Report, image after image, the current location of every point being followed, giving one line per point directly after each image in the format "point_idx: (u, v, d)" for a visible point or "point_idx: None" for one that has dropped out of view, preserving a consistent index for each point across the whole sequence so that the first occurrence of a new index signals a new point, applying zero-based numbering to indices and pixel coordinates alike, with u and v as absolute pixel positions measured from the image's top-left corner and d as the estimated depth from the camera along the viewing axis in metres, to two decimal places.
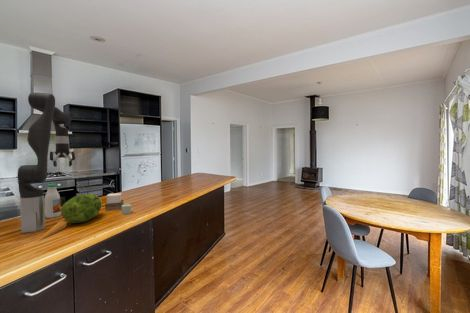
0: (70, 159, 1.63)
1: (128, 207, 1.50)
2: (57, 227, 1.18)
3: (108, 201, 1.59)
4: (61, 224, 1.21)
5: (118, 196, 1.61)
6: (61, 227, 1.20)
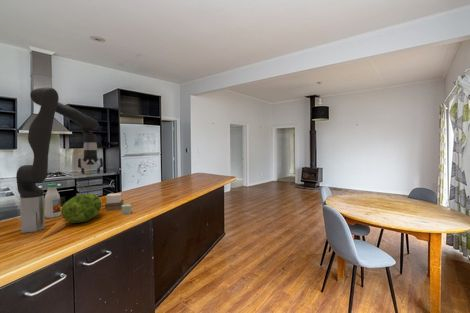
0: (98, 166, 1.58)
1: (128, 207, 1.50)
2: (56, 227, 1.18)
3: (108, 201, 1.59)
4: (60, 224, 1.21)
5: (118, 196, 1.61)
6: (60, 227, 1.20)
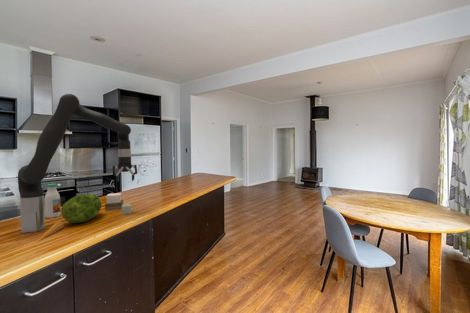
0: (133, 173, 1.52)
1: (128, 207, 1.50)
2: (55, 227, 1.18)
3: (108, 201, 1.60)
4: (59, 224, 1.21)
5: (118, 196, 1.61)
6: (59, 227, 1.20)
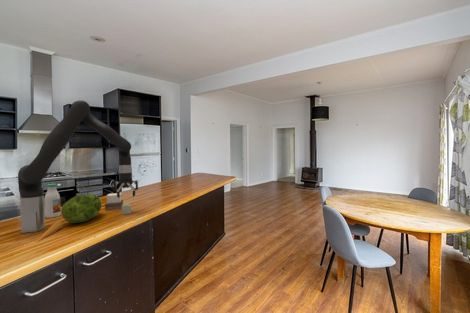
0: (134, 189, 1.53)
1: (128, 207, 1.50)
2: (55, 227, 1.18)
3: (108, 201, 1.60)
4: (58, 224, 1.20)
5: None
6: (58, 227, 1.20)
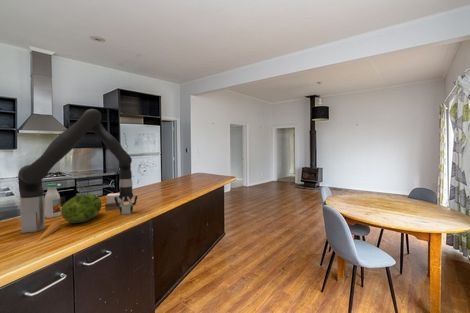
0: (131, 204, 1.52)
1: (128, 207, 1.50)
2: (53, 227, 1.18)
3: (108, 201, 1.60)
4: (56, 224, 1.20)
5: None
6: (57, 227, 1.20)
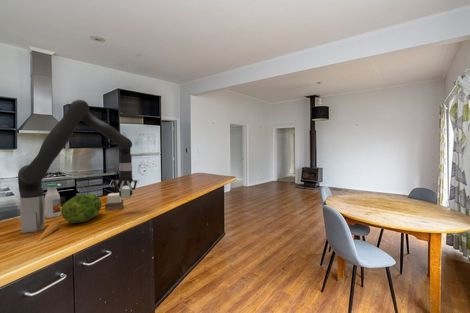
0: (131, 188, 1.52)
1: (127, 191, 1.50)
2: (52, 227, 1.17)
3: (108, 201, 1.59)
4: (55, 224, 1.20)
5: (118, 196, 1.61)
6: (55, 227, 1.20)
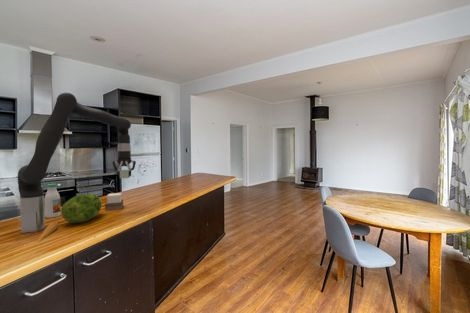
0: (130, 169, 1.52)
1: (126, 171, 1.50)
2: (51, 227, 1.17)
3: (108, 201, 1.59)
4: (54, 225, 1.20)
5: (118, 196, 1.61)
6: (54, 227, 1.19)
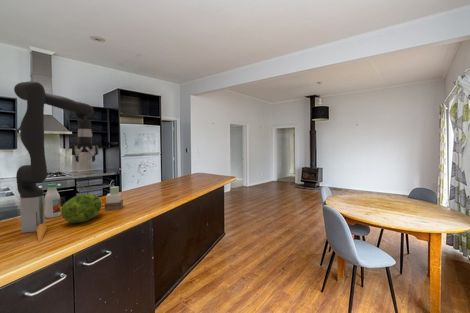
0: (93, 154, 1.51)
1: (116, 188, 1.63)
2: (44, 229, 1.15)
3: (107, 201, 1.60)
4: (44, 226, 1.18)
5: (117, 196, 1.62)
6: (46, 229, 1.18)
